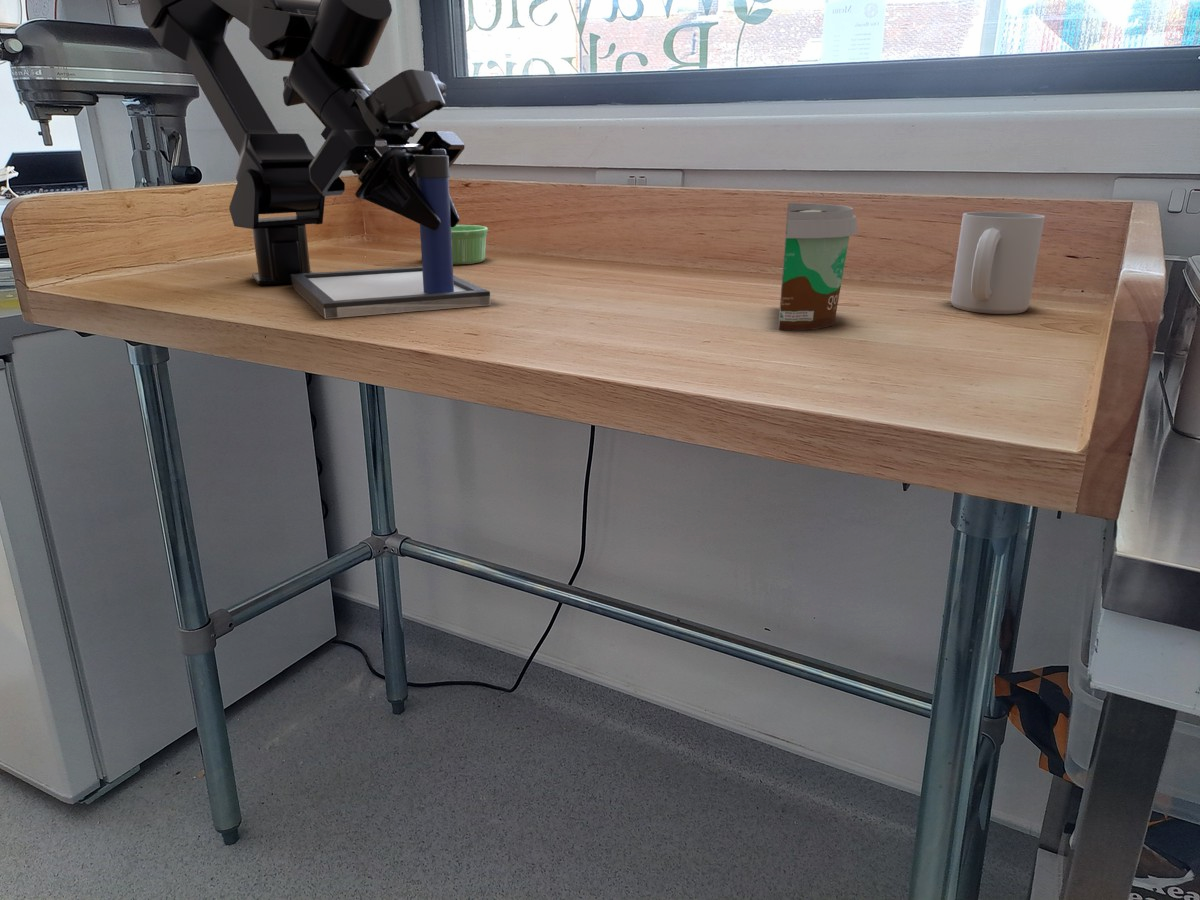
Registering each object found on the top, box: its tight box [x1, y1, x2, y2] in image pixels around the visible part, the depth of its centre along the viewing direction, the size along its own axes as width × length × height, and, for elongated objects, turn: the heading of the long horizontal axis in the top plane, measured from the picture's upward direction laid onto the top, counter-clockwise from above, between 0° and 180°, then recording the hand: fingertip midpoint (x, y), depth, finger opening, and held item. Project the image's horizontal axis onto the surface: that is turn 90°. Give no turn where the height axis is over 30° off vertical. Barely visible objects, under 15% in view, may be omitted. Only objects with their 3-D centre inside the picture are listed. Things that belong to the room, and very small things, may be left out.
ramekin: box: [451, 224, 489, 266], centre depth 115 cm, size 9×9×4 cm
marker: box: [415, 155, 454, 294], centre depth 84 cm, size 3×3×13 cm
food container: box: [778, 202, 859, 331], centre depth 77 cm, size 12×6×10 cm, turn 168°
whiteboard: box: [291, 265, 492, 320], centre depth 90 cm, size 20×16×1 cm
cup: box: [950, 211, 1046, 315], centre depth 82 cm, size 7×10×9 cm
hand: (447, 225), depth 83 cm, fingers closed on marker, 3 cm apart
